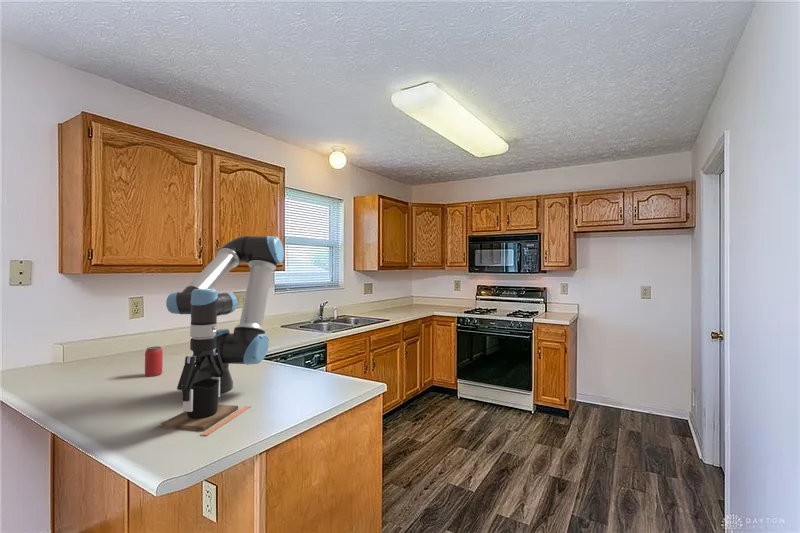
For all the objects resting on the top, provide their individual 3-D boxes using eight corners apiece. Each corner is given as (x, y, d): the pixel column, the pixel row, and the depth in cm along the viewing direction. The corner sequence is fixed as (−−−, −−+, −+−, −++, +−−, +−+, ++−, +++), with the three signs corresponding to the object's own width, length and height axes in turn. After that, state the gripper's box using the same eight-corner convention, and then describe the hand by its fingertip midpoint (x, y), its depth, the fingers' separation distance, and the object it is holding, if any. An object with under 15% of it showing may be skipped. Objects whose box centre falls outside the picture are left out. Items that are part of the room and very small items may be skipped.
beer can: (141, 375, 172) (141, 348, 172) (155, 372, 178) (155, 345, 178) (151, 377, 170) (152, 349, 170) (165, 373, 176) (166, 347, 176)
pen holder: (215, 418, 122) (216, 385, 122) (182, 420, 120) (182, 388, 120) (220, 407, 131) (221, 377, 131) (189, 410, 129) (189, 379, 129)
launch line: (200, 435, 112) (200, 434, 112) (245, 406, 136) (245, 405, 136) (206, 436, 112) (206, 434, 112) (251, 406, 136) (251, 406, 136)
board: (161, 427, 118) (161, 423, 118) (200, 406, 135) (200, 403, 135) (203, 430, 115) (204, 426, 115) (238, 409, 133) (238, 405, 133)
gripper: (187, 345, 113) (186, 419, 112) (236, 331, 137) (235, 392, 137) (164, 343, 114) (162, 417, 114) (216, 330, 138) (215, 390, 138)
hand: (202, 403), depth 125 cm, fingers open, 13 cm apart
